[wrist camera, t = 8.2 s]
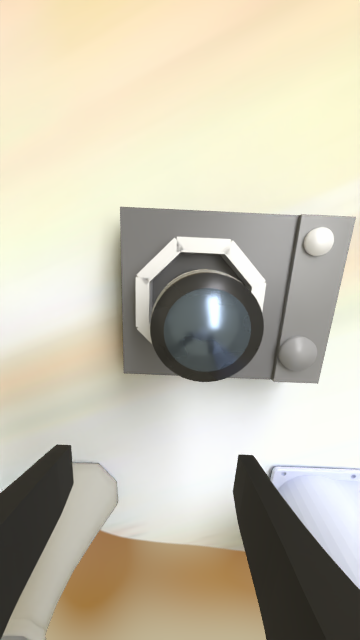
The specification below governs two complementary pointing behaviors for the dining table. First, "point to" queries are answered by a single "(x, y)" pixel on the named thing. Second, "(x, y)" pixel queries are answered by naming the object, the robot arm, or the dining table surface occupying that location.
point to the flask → (63, 550)
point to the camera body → (246, 266)
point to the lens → (206, 325)
